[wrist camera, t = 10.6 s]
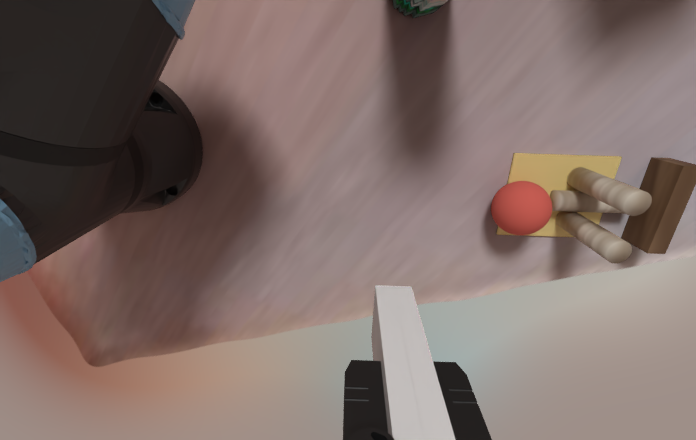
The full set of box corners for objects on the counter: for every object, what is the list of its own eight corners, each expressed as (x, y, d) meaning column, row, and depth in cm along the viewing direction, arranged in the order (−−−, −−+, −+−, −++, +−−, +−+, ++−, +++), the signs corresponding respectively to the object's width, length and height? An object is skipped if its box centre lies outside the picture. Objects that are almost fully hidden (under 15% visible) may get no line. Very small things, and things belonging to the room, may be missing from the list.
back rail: (621, 237, 42) (647, 253, 38) (651, 157, 38) (683, 166, 34) (637, 238, 42) (665, 253, 38) (669, 158, 38) (703, 166, 34)
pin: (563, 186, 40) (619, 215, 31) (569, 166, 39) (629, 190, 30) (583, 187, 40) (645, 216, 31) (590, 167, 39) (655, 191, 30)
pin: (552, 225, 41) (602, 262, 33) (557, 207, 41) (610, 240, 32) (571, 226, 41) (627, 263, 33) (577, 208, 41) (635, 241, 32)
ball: (545, 231, 39) (492, 217, 42) (562, 182, 37) (504, 170, 40) (538, 251, 35) (479, 233, 38) (557, 196, 32) (492, 182, 35)
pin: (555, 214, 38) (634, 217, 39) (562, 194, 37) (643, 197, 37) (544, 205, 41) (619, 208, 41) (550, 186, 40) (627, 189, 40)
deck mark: (496, 233, 42) (496, 234, 42) (513, 153, 38) (514, 153, 38) (593, 236, 42) (594, 237, 42) (620, 156, 38) (621, 156, 38)
